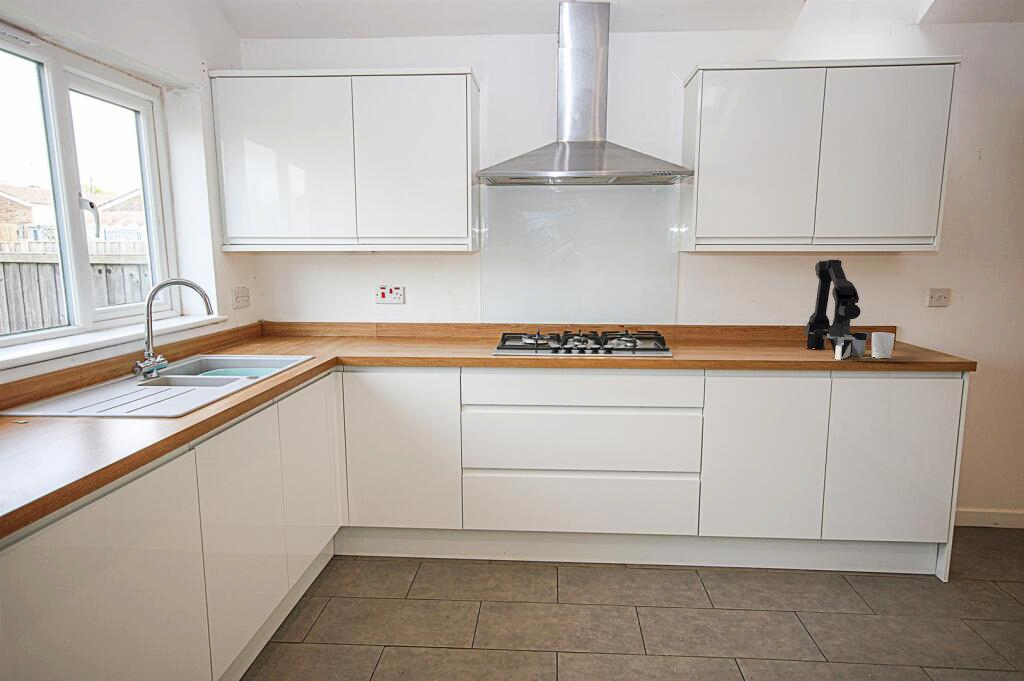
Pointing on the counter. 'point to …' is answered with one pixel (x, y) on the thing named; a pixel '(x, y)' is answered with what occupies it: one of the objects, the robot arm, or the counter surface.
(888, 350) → the white cup
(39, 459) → the counter surface
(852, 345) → the dispenser
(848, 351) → the white rectangular block
